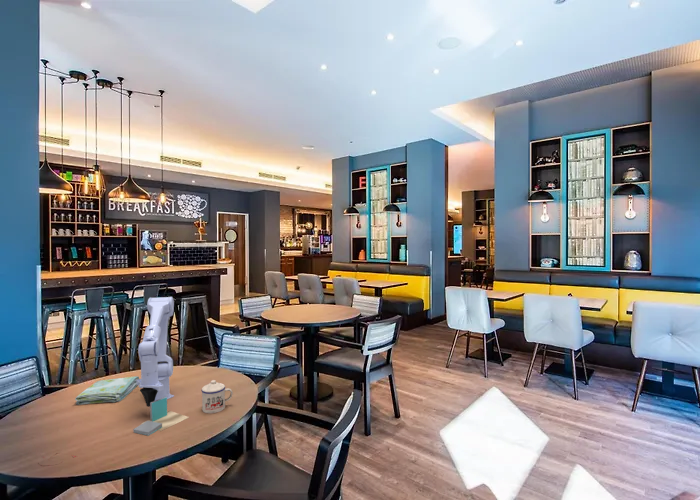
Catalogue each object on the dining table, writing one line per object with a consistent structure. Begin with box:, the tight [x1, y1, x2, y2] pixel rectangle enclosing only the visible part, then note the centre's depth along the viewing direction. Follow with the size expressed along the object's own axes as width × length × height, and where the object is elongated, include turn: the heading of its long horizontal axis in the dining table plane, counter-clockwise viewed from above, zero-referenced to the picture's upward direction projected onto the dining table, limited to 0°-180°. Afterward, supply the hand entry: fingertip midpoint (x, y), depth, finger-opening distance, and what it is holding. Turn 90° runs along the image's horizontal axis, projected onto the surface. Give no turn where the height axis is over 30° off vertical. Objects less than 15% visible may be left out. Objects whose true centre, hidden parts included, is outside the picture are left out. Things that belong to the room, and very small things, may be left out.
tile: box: [149, 397, 168, 422], centre depth 143 cm, size 1×6×7 cm, turn 151°
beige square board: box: [140, 410, 190, 432], centre depth 141 cm, size 12×12×1 cm
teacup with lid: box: [200, 379, 234, 414], centre depth 151 cm, size 12×9×12 cm
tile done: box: [132, 420, 162, 437], centre depth 134 cm, size 7×6×1 cm
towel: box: [74, 375, 140, 406], centre depth 167 cm, size 18×21×5 cm
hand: (150, 405), depth 146 cm, fingers closed
